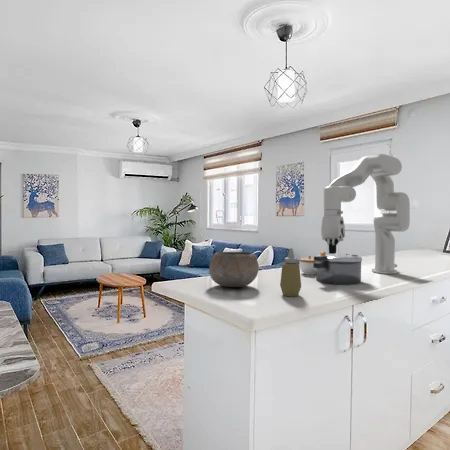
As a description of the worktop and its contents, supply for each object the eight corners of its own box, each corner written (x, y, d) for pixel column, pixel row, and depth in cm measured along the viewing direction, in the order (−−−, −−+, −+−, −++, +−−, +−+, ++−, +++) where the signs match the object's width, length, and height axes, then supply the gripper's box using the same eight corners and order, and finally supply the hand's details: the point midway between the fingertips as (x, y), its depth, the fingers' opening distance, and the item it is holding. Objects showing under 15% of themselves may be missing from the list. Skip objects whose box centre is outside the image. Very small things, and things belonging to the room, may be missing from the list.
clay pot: (202, 284, 159) (202, 250, 158) (244, 281, 167) (244, 248, 167) (220, 294, 139) (220, 255, 139) (267, 289, 148) (267, 253, 147)
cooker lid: (334, 255, 182) (334, 249, 182) (372, 259, 166) (372, 253, 166) (298, 259, 166) (298, 252, 166) (336, 264, 150) (336, 257, 149)
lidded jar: (320, 275, 181) (321, 257, 181) (299, 275, 183) (299, 256, 183) (319, 272, 192) (319, 255, 191) (299, 271, 194) (299, 254, 194)
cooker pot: (333, 275, 182) (333, 256, 181) (369, 281, 166) (370, 260, 165) (298, 281, 166) (298, 259, 166) (335, 288, 150) (335, 264, 150)
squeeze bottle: (277, 292, 142) (278, 247, 141) (297, 292, 142) (298, 247, 142) (282, 297, 134) (283, 249, 133) (303, 297, 134) (304, 249, 134)
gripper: (351, 213, 160) (351, 254, 161) (324, 213, 172) (324, 251, 173) (341, 213, 156) (341, 255, 156) (314, 213, 168) (314, 252, 168)
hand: (332, 253), depth 165 cm, fingers closed
